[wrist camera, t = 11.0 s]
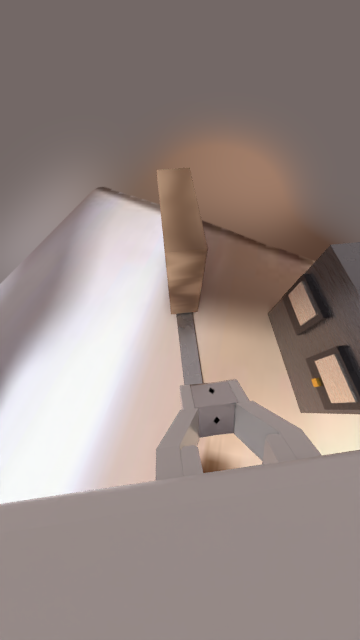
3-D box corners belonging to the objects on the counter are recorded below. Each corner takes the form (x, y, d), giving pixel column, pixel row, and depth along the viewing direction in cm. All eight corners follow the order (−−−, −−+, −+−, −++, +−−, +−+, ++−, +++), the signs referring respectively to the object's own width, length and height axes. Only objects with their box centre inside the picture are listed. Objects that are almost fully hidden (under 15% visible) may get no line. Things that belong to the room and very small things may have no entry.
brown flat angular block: (171, 314, 30) (164, 252, 18) (164, 249, 35) (156, 170, 23) (197, 311, 30) (207, 248, 18) (186, 247, 35) (189, 167, 23)
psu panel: (190, 435, 24) (200, 466, 11) (170, 262, 35) (164, 177, 22) (327, 418, 24) (488, 428, 12) (264, 253, 35) (311, 166, 23)
